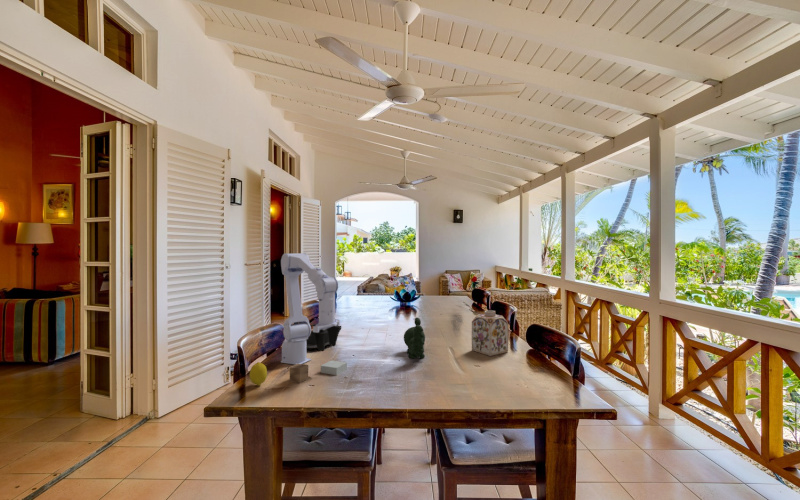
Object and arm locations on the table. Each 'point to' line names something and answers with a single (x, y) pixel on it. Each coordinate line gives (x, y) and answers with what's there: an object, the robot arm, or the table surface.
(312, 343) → the casserole
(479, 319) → the decorative jar
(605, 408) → the table surface
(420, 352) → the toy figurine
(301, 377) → the walnut block
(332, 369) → the grey block
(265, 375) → the lemon
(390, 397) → the table surface
